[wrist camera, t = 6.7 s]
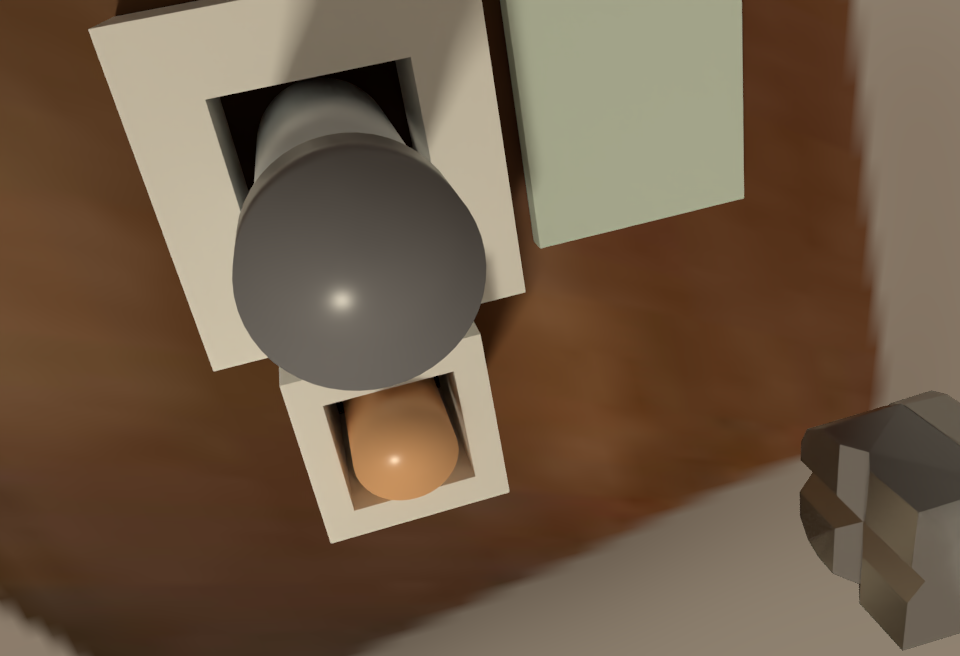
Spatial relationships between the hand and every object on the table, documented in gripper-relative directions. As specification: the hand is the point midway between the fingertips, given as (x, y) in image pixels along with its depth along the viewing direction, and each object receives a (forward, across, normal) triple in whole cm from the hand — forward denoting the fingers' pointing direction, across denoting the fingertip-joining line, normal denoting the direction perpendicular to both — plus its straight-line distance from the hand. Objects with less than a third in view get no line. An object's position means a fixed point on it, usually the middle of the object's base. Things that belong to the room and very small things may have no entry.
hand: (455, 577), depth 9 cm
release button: (+18, 0, +8) cm, 20 cm away
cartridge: (+21, 0, 0) cm, 21 cm away
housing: (+21, 0, +3) cm, 21 cm away
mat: (+20, -10, -1) cm, 23 cm away
